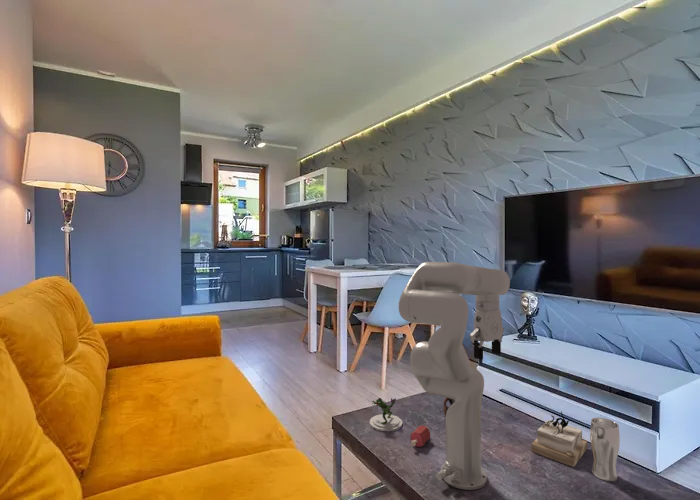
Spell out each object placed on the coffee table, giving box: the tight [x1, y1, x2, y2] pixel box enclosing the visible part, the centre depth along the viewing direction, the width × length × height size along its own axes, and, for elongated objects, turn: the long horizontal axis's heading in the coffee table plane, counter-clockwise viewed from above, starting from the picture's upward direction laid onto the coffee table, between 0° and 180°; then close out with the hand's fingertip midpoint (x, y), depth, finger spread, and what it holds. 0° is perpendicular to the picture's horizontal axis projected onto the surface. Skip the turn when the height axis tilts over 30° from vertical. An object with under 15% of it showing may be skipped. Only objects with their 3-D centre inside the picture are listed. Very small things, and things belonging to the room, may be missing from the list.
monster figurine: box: [369, 397, 403, 433], centre depth 141 cm, size 12×12×10 cm
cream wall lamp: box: [530, 419, 588, 468], centre depth 122 cm, size 14×12×7 cm
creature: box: [541, 411, 571, 435], centre depth 122 cm, size 8×5×8 cm
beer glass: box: [589, 417, 621, 482], centre depth 109 cm, size 7×7×15 cm
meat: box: [410, 425, 431, 448], centre depth 128 cm, size 12×5×5 cm, turn 145°
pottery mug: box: [443, 397, 455, 416], centre depth 150 cm, size 12×10×8 cm
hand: (487, 356), depth 130 cm, fingers open, 9 cm apart
